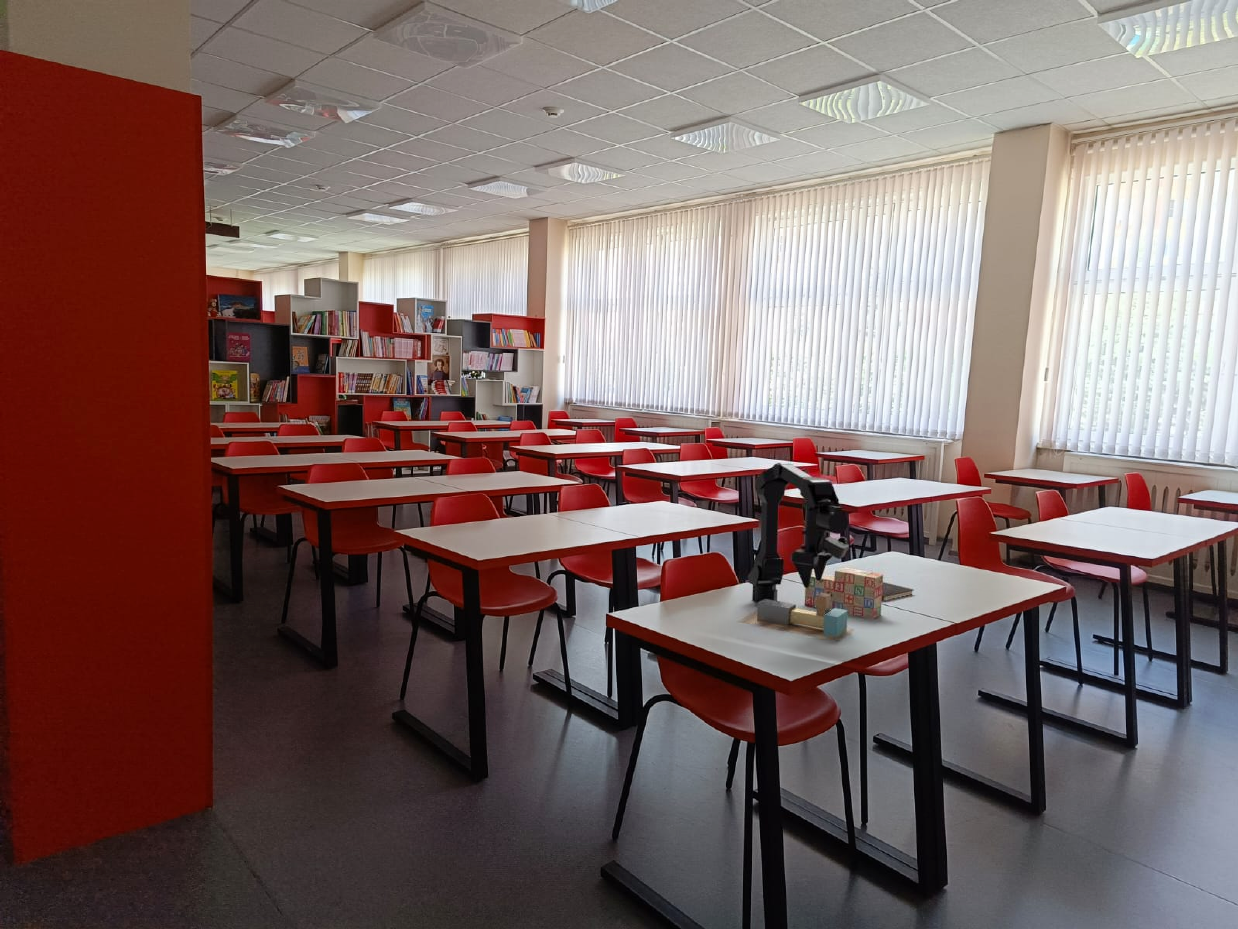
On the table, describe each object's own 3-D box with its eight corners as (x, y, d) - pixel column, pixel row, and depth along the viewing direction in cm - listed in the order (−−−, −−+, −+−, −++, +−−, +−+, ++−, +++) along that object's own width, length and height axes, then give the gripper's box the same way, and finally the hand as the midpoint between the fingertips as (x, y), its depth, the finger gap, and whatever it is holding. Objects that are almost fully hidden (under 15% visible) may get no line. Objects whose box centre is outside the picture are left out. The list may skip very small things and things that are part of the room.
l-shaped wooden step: (771, 618, 206) (772, 587, 205) (775, 616, 208) (777, 585, 208) (832, 630, 196) (833, 598, 196) (836, 627, 199) (837, 595, 198)
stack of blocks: (803, 605, 228) (805, 565, 227) (812, 601, 233) (814, 562, 232) (873, 620, 214) (875, 577, 213) (881, 615, 219) (883, 573, 218)
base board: (737, 624, 206) (737, 621, 206) (757, 614, 217) (757, 610, 217) (838, 645, 191) (838, 641, 190) (854, 632, 201) (854, 629, 201)
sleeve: (757, 620, 207) (757, 602, 207) (764, 616, 211) (765, 598, 211) (788, 626, 202) (788, 608, 202) (795, 622, 206) (795, 604, 206)
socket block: (823, 635, 195) (824, 614, 195) (833, 628, 202) (834, 608, 201) (836, 637, 193) (837, 617, 193) (846, 630, 200) (847, 610, 199)
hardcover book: (854, 581, 262) (854, 575, 262) (913, 596, 244) (913, 589, 243) (823, 587, 253) (824, 580, 253) (883, 603, 234) (883, 595, 234)
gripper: (834, 535, 189) (830, 597, 190) (856, 525, 204) (853, 582, 206) (791, 530, 195) (788, 589, 196) (816, 520, 210) (813, 575, 212)
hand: (812, 584), depth 202 cm, fingers open, 9 cm apart
